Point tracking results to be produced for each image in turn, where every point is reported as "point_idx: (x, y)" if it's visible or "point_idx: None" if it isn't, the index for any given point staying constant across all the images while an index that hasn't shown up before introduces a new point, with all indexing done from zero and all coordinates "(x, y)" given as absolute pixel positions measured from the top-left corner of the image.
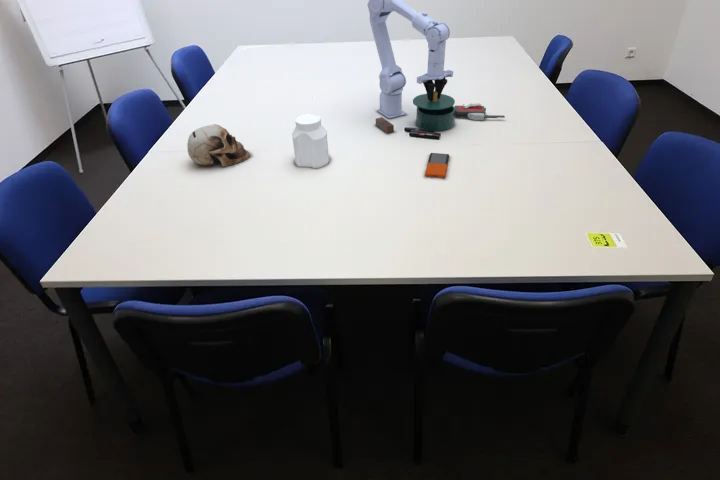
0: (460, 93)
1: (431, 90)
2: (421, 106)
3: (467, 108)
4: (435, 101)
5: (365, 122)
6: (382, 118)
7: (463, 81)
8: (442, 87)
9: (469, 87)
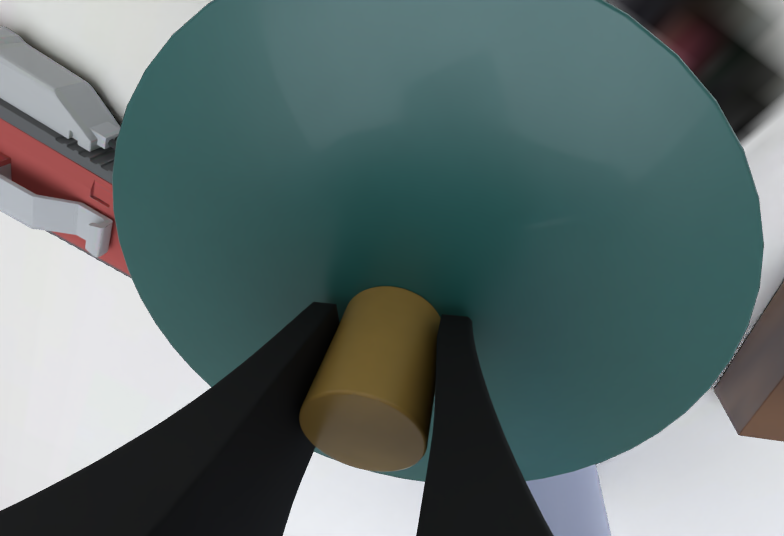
0: (104, 394)
1: (513, 503)
2: (741, 271)
3: (81, 201)
4: (394, 288)
5: (772, 450)
6: (764, 420)
7: (73, 447)
8: (168, 452)
9: (56, 408)
